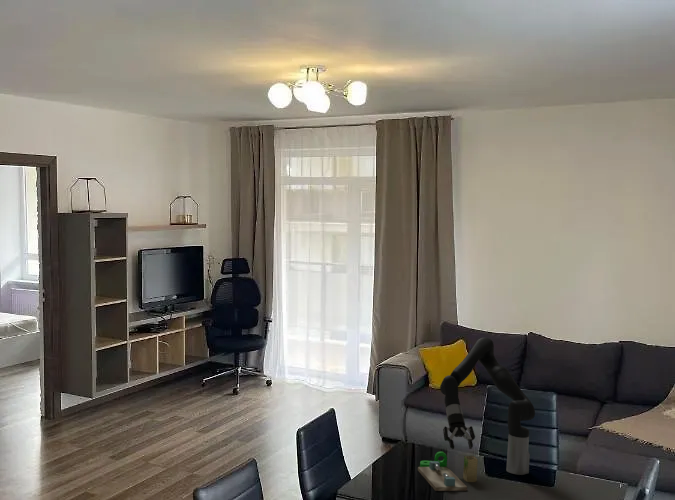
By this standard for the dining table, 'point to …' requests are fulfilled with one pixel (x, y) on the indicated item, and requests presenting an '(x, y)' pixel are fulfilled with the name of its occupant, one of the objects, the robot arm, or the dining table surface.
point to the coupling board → (441, 478)
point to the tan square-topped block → (470, 469)
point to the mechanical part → (437, 455)
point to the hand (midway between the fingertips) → (462, 448)
